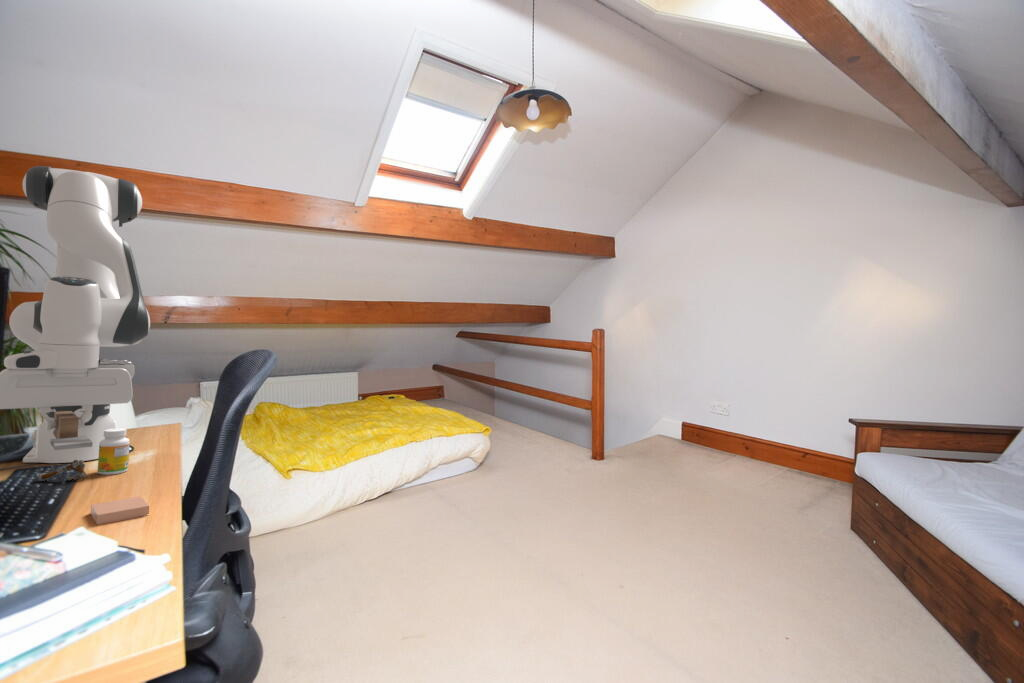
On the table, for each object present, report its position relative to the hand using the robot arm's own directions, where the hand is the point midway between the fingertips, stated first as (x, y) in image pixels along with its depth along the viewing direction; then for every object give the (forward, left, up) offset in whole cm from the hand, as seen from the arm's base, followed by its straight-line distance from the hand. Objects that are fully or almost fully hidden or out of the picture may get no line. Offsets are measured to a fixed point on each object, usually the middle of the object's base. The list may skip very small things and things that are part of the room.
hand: (65, 428), depth 93 cm
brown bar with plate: (+4, 0, -2) cm, 4 cm away
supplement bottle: (-12, +10, -13) cm, 20 cm away
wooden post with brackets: (-11, +1, -13) cm, 17 cm away
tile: (+17, +6, -12) cm, 21 cm away
